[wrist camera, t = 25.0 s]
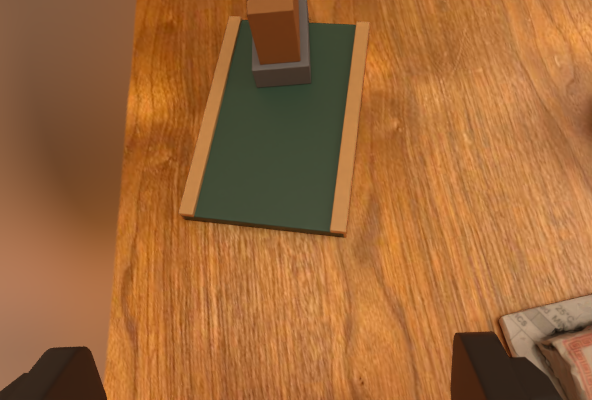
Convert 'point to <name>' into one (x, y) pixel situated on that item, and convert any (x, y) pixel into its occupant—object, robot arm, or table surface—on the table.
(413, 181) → the table surface
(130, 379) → the table surface
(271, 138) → the chalkboard
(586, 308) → the packaged product
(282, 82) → the eraser
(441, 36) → the table surface
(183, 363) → the table surface
